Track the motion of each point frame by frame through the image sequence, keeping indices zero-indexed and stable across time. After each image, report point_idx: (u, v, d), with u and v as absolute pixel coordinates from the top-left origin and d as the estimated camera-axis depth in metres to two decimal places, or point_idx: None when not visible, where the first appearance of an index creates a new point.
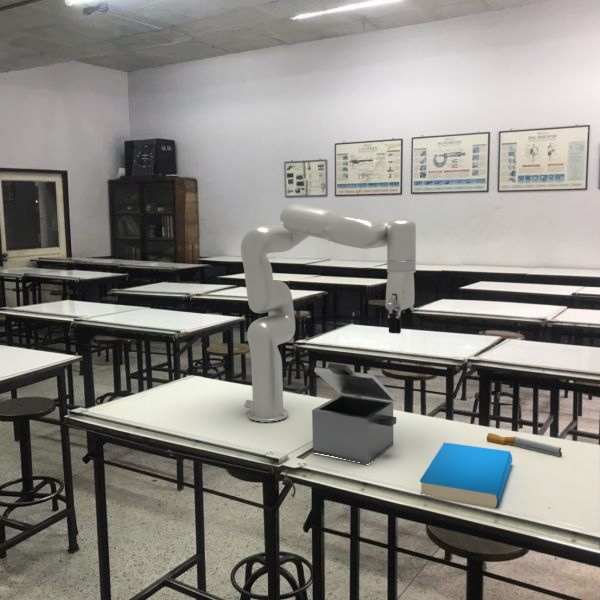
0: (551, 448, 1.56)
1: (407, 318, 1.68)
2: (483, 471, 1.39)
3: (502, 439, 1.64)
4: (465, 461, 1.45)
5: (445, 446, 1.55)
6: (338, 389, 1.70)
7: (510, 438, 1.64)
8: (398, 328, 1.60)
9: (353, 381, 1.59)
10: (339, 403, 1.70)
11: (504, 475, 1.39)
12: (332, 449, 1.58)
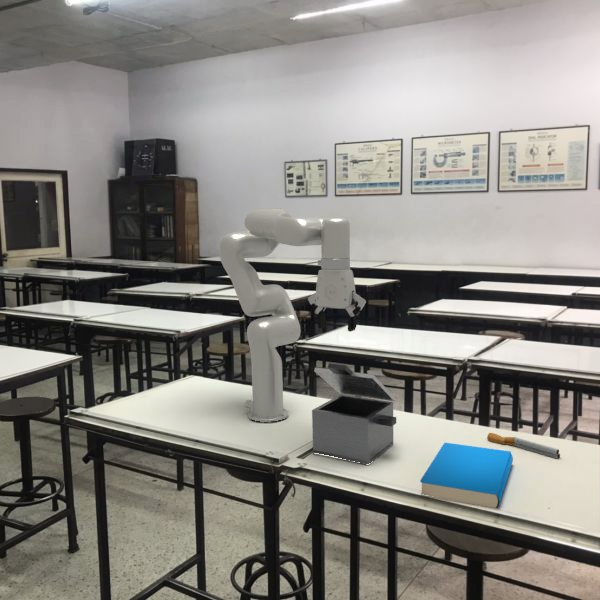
0: (549, 450, 1.55)
1: (323, 319, 1.66)
2: (484, 471, 1.39)
3: (502, 439, 1.64)
4: (465, 461, 1.45)
5: (446, 446, 1.55)
6: (338, 389, 1.70)
7: (510, 438, 1.63)
8: None
9: (353, 381, 1.59)
10: (339, 403, 1.70)
11: (504, 475, 1.39)
12: (332, 449, 1.58)
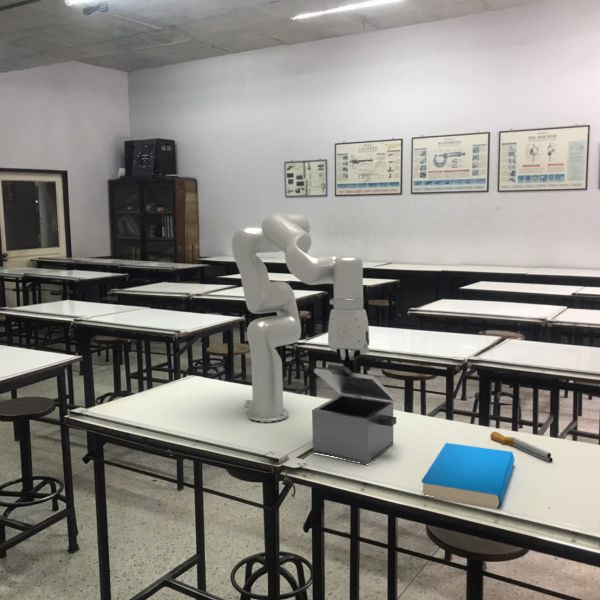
0: (541, 452, 1.53)
1: None
2: (485, 472, 1.39)
3: (502, 438, 1.65)
4: (467, 461, 1.45)
5: (447, 446, 1.55)
6: (338, 389, 1.70)
7: (510, 438, 1.63)
8: None
9: (353, 382, 1.59)
10: (339, 403, 1.70)
11: (506, 475, 1.39)
12: (332, 449, 1.58)
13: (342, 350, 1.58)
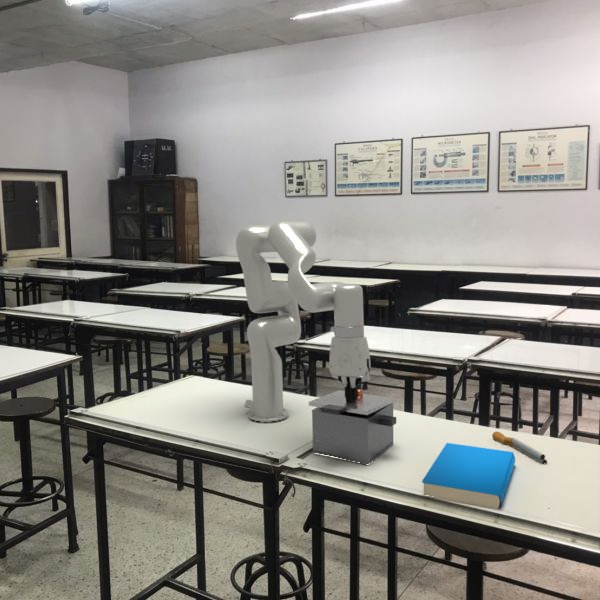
0: (535, 454, 1.53)
1: None
2: (486, 472, 1.39)
3: (503, 438, 1.65)
4: (468, 462, 1.45)
5: (448, 446, 1.55)
6: None
7: (509, 439, 1.63)
8: None
9: None
10: None
11: (507, 476, 1.39)
12: (332, 449, 1.58)
13: (343, 377, 1.58)
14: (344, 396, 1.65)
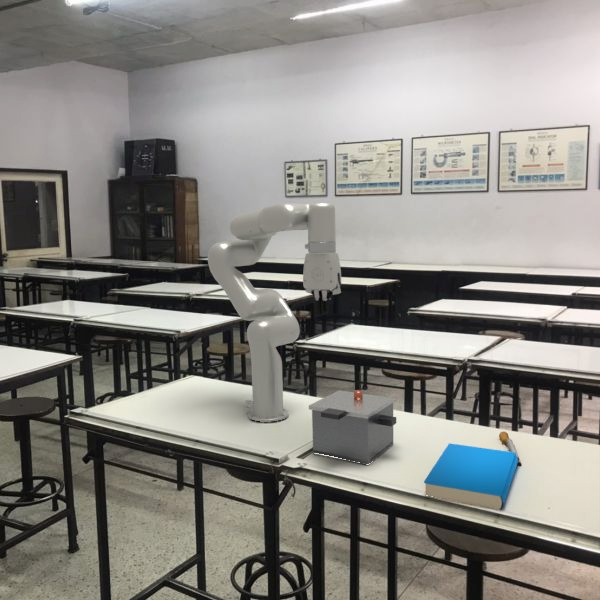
0: None
1: None
2: (488, 472, 1.39)
3: (503, 438, 1.65)
4: (470, 462, 1.45)
5: (450, 447, 1.55)
6: None
7: (506, 439, 1.63)
8: None
9: None
10: None
11: (509, 476, 1.38)
12: (332, 449, 1.58)
13: (316, 291, 1.69)
14: (344, 397, 1.65)
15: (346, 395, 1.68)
